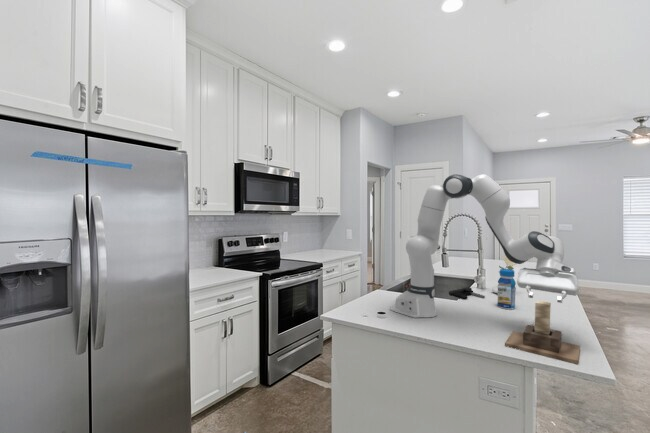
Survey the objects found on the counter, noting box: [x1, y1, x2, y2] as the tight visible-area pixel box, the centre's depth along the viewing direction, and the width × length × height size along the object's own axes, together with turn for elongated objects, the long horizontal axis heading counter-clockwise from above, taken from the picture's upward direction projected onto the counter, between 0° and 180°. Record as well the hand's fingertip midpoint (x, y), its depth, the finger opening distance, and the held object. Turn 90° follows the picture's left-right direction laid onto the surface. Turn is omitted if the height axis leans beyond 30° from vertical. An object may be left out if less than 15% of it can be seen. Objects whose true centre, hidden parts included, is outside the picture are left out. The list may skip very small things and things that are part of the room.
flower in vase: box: [491, 254, 517, 295], centre depth 199 cm, size 13×11×25 cm
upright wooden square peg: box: [534, 300, 551, 335], centre depth 122 cm, size 4×4×14 cm
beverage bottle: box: [496, 268, 517, 311], centre depth 172 cm, size 8×8×20 cm
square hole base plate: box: [504, 324, 581, 365], centre depth 123 cm, size 22×16×6 cm
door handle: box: [448, 286, 486, 301], centre depth 194 cm, size 3×20×16 cm
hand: (544, 299), depth 126 cm, fingers open, 8 cm apart
